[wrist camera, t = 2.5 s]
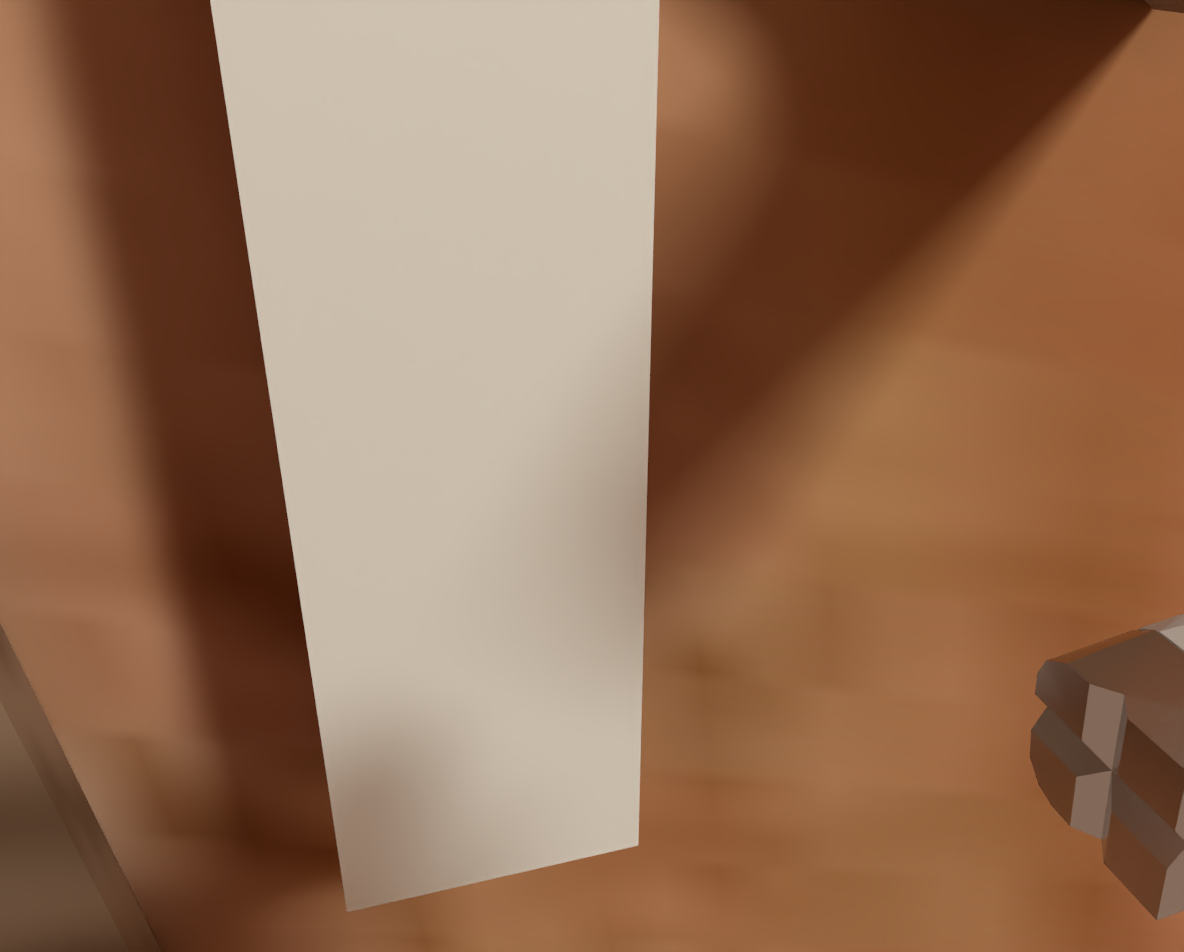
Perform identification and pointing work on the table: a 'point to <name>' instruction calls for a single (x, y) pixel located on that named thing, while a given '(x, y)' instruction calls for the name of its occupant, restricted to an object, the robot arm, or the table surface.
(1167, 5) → the wooden block
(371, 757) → the white rectangular block
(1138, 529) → the table surface
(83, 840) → the brown open-topped frame
